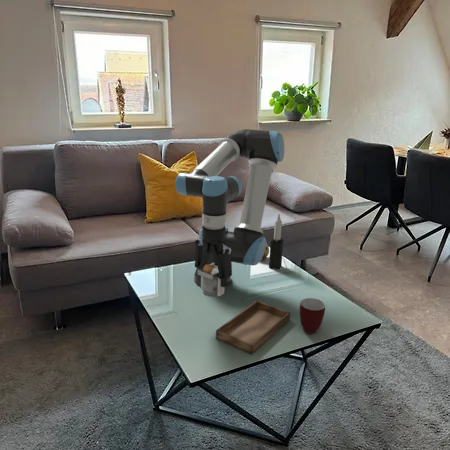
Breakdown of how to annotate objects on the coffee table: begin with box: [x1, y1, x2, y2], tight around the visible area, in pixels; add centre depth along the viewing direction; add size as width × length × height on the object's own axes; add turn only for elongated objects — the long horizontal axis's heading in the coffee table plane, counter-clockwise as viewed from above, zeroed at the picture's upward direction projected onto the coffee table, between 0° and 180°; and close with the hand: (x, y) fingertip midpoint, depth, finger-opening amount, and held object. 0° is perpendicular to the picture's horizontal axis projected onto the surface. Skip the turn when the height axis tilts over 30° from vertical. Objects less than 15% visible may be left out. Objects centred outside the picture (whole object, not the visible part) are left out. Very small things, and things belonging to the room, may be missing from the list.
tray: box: [215, 300, 291, 356], centre depth 138 cm, size 14×25×3 cm, turn 144°
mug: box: [299, 297, 326, 335], centre depth 138 cm, size 10×8×10 cm
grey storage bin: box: [198, 263, 220, 298], centre depth 137 cm, size 6×8×8 cm
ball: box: [204, 264, 213, 273], centre depth 135 cm, size 3×3×3 cm
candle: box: [268, 213, 284, 271], centre depth 182 cm, size 5×5×25 cm
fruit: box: [261, 243, 270, 260], centre depth 193 cm, size 8×8×8 cm
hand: (212, 291), depth 138 cm, fingers closed on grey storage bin, 6 cm apart
